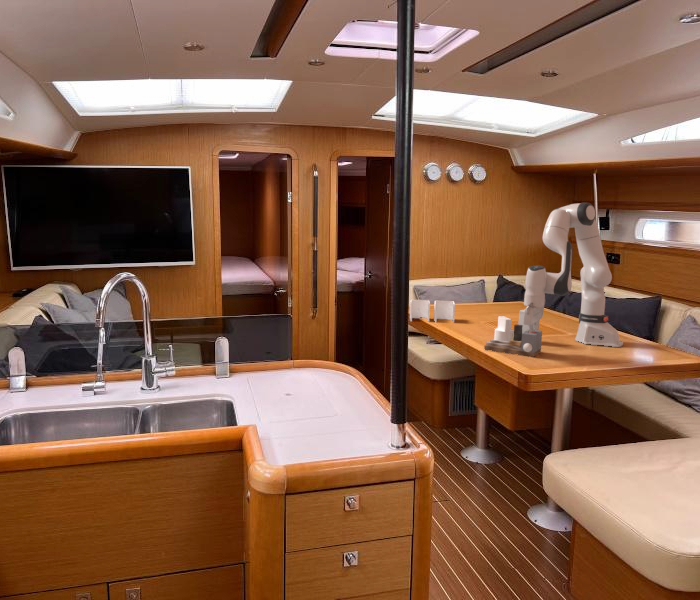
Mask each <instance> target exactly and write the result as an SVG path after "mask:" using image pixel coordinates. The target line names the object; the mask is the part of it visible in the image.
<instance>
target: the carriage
mask: <svg viewBox="0 0 700 600" xmlns="http://www.w3.org/2000/svg"><path fill="white" fill-rule="evenodd" d="M522 326H523V325H518V324H517V323H516V324H514V326H513V339H512V340H510V342H509V345H511V346H518V347H521V342H522Z"/></svg>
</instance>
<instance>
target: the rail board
mask: <svg viewBox="0 0 700 600" xmlns="http://www.w3.org/2000/svg"><path fill="white" fill-rule="evenodd" d="M485 343H486V344H485V345H484V347H483V350H484V349H485V350H484V351H488V350H492V351H491V352H495V351H496V353H502V352H505V353H504V354H509V353H511V354H510V355H515V354H518V355H517V356H522V355H523V356H524V357H529V356H531V355H534V356H535V357H536V356H537V355H538V352H540V353H541V351H542V347H541V348H540V346H539V350H537V351H536V352H537V354H536V352H535V353H531V352H524V351H521V347H518V346H511V345H509V342H505V341H498V340H494V339H490V341H486V342H485ZM524 354H526V356H525V355H524ZM527 355H529V356H527ZM523 356H522V357H523ZM534 356H531V358H535V357H534Z"/></svg>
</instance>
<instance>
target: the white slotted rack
mask: <svg viewBox="0 0 700 600" xmlns="http://www.w3.org/2000/svg"><path fill="white" fill-rule="evenodd" d="M409 302H410V303H409V305H410V306H409V322H413V319H420V318H419V317H425V318H424V319H427V320H426V321H429V322H430V318H431V317H430V316H431V315H430V312H431V302H430V300H429V299H410V301H409ZM433 303H434V304H433V305H434V307H433V308H434V309H433V322H434V321H435V322H434V323H437V320H451V323H452V322H453V323H452V324H454V323H455V312H456V303H455V301H454V300H434V302H433Z"/></svg>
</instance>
